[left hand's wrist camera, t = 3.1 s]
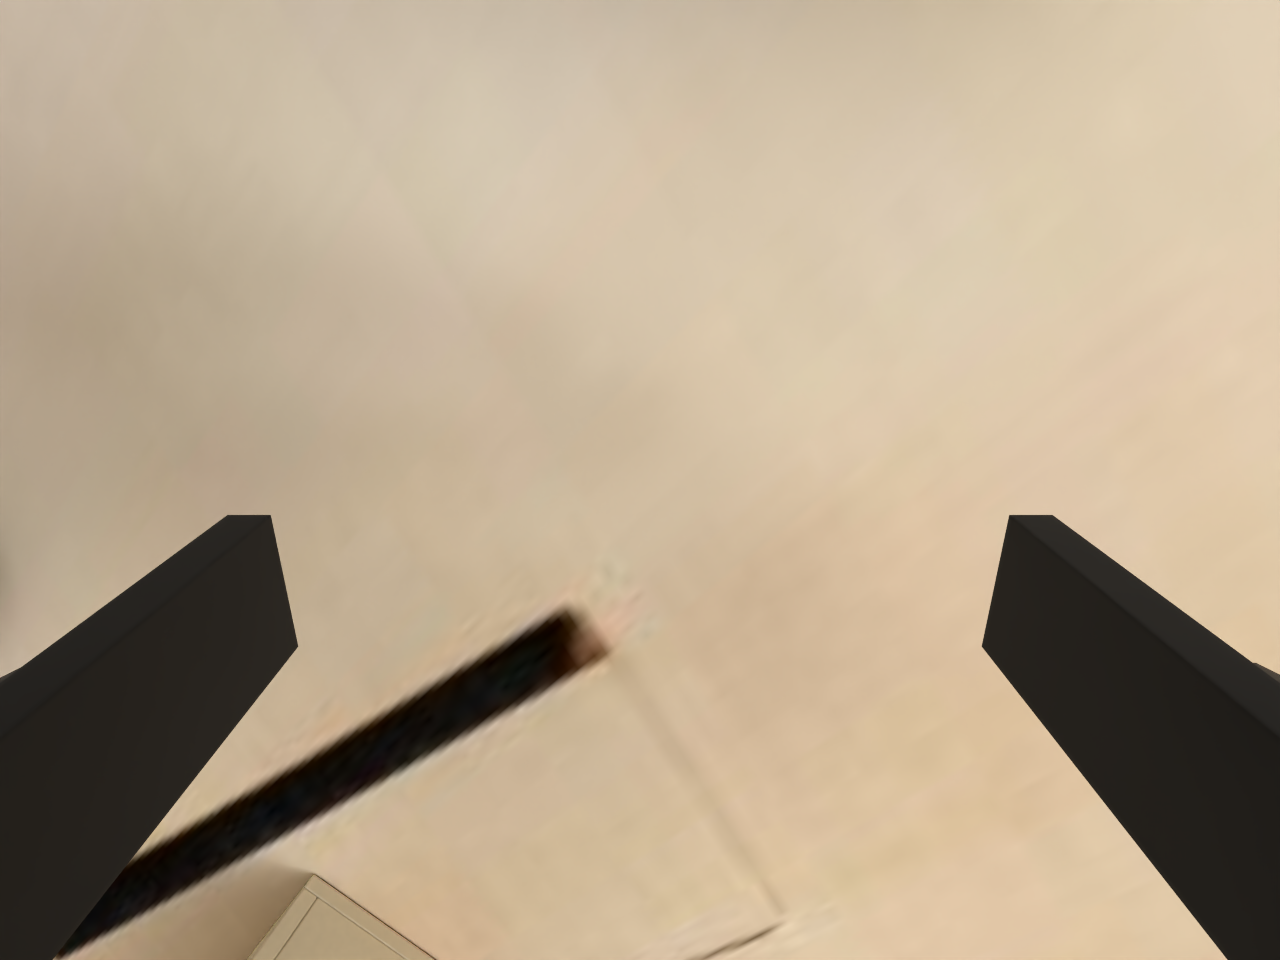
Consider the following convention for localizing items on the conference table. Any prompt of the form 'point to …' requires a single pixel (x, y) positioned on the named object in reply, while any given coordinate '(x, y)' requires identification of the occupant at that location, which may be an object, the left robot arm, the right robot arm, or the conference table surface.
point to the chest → (331, 931)
